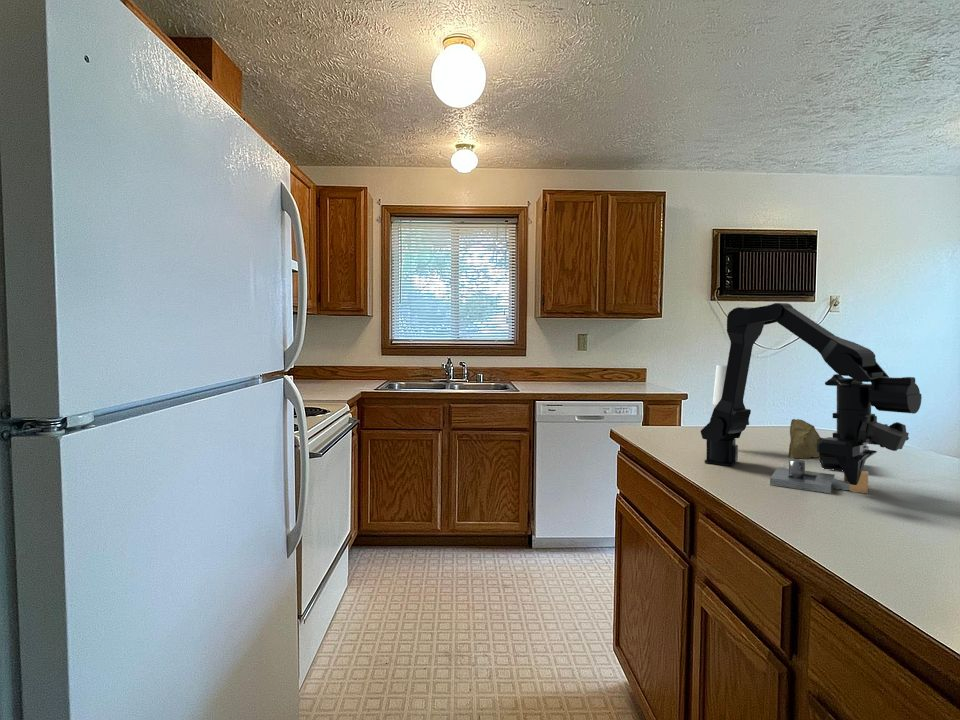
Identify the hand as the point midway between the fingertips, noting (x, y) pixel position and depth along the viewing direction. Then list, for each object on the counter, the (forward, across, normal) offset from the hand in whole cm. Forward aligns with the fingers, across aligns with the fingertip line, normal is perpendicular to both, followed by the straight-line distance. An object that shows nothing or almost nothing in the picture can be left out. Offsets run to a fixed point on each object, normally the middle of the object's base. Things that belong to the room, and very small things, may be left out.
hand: (853, 484), depth 105 cm
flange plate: (+2, +1, +7) cm, 7 cm away
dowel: (+2, +6, +3) cm, 7 cm away
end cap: (+2, +22, +11) cm, 24 cm away
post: (+2, -1, +10) cm, 11 cm away
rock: (+1, +27, +20) cm, 34 cm away
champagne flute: (+1, +18, +38) cm, 43 cm away
